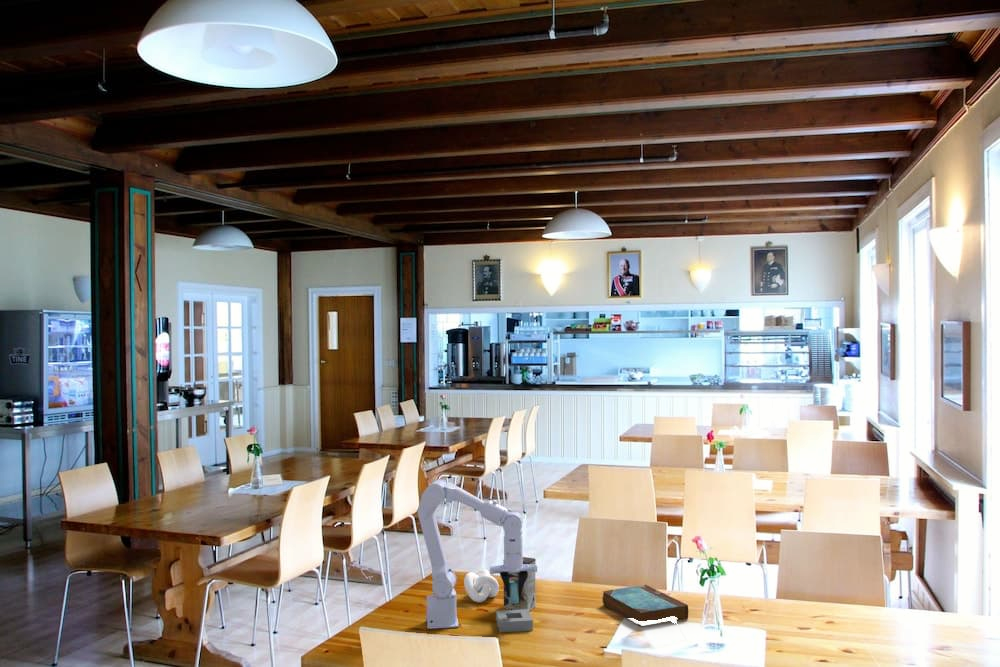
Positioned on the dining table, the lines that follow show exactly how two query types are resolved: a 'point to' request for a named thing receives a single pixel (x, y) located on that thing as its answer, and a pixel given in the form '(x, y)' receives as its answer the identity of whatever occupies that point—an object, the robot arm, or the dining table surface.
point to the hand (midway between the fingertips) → (513, 596)
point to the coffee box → (523, 590)
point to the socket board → (514, 620)
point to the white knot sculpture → (480, 585)
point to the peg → (514, 592)
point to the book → (644, 603)
